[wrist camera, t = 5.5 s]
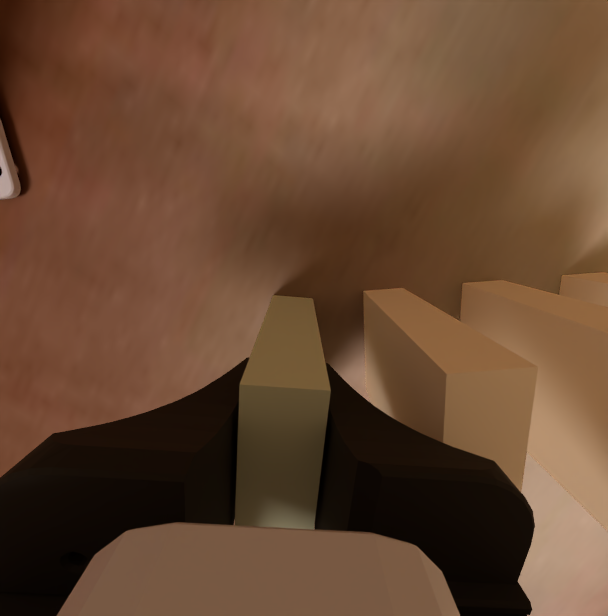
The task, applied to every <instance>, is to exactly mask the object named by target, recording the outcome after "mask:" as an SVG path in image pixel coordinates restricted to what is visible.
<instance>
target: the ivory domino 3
mask: <svg viewBox="0 0 608 616" xmlns="http://www.w3.org/2000/svg"><path fill="white" fill-rule="evenodd" d="M559 295H562V296H566V297H570V298H573V299H577V300H581V301H585V302H589V303H593V304H597V305H600V306H604V307H608V273H605V272H596V273H584V274H571V275H562V278H561V284H560V291H559Z"/></svg>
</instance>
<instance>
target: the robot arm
mask: <svg viewBox="0 0 608 616" xmlns="http://www.w3.org/2000/svg"><path fill="white" fill-rule="evenodd" d="M0 167H1V169H2V174H1V176H0V199H11V198H15V197H17V196H18V195H19V194H20V190H21V187H20V182H19V179H18V175H17V172H16V169H15V165H14V162H13V159H12V155H11V152H10V149H9V145H8V142H7V139H6V135H5V132H4V129H3V125H2V122H1V119H0ZM248 361H249V358H246V359H245V360H244V361H242V362H241V363H240V364H238V365H237V366H236V367H234V368H233V369H231V370H230V371H229V372H227V373H226V374H224V375H223V376H222V377H220V378H218V379H217V380H215V381H214V382H212V383H210V384H209V385H207V386H205V387H204V388H202V389H200V390H198V391H197V392H195V393H193V394H191V395H188V396H186V397H184V398H182V399H180V400H178V401H175V402H173V403H170V404H167V405H165V406H162V407H159V408H157V409H154V410H151V411H149V412H146V413H142V414H139V415H136V416H132V417H129V418H125V419H121V420H118V421H114V422H110V423H105V424H101V425H96V426H91V427H86V428H81V429H76V430H70V431H65V432H59V433H53V434H52V435H51V436H50V437H48V438H47V439H46V440H45V441H44V442H42V443H41V444H40V445H39V446H38V447H36V448H35V449H34V450H33V451H32V452H30V453H29V454H28V455H27V456H26V457H25V458H23V459H22V460H21V461H20V462H19V463H17V464H16V465H15V466H14V467H13V468H11V469H10V470H9V471H8V472H7V473H5V474H4V475H3V476H2V477H1V478H0V616H527V615H530V613H531V611H532V607H531V603H530V601H529V599H528V598H527V596H526V594H525V593H524V591H523V590H522V588H521V586H520V585H519V583H518V578H519V575H520V573H521V570H522V567H523V565H524V562H525V559H526V557H527V554H528V551H529V548H530V546H531V542H532V537H533V532H534V527H535V524H534V517H533V511H532V509H531V507H530V505H529V504H528V502H527V500H526V498H525V497H524V496H523V494H522V493H521V492H520V491H519V490H518V488H517V487H516V486H515V485H514V484H513V482H512V481H511V480H510V479H509V478H508V476H507V475H506V474H505V473H504V472H503V470H502V469H501V468H500V467H499V466H498V465H497V463H496V462H495V461H493V460H490V459H487V458H484V457H481V456H478V455H476V454H473V453H470V452H467V451H464V450H461V449H458V448H455V447H452V446H450V445H447V444H445V443H442V442H440V441H438V440H435V439H433V438H431V437H428V436H426V435H424V434H422V433H420V432H418V431H416V430H414V429H412V428H410V427H408V426H406V425H404V424H402V423H401V422H399V421H397V420H395V419H394V418H392V417H390V416H389V415H387V414H386V413H384V412H383V411H381V410H380V409H378V408H377V407H375V406H374V405H372V404H371V403H370V402H368V401H367V400H366V399H365V398H363V397H362V396H361V395H360V394H359V393H357V392H356V391H355V390H354V389H353V388H352V387H351V386H350V385H349V384H347V383H346V382H345V381H344V380H343V379H342V378H341V377H340V376H339V375H338V373H337V372H336V371H335V370H334V369H333V368H332V367H331V366H330V365H329V364H328V363H325V364H326V369H327V374H328V379H329V384H330V389H331V393H330V401H329V409H328V417H327V426H326V434H325V442H324V450H323V458H322V466H321V475H320V483H319V491H318V499H317V507H316V516H315V529H297V528H278V527H259V526H240V525H234V519H235V502H236V473H237V444H238V415H239V386H240V382H241V379H242V377H243V374H244V371H245V369H246V366H247V363H248Z"/></svg>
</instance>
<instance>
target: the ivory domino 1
mask: <svg viewBox="0 0 608 616" xmlns="http://www.w3.org/2000/svg"><path fill="white" fill-rule="evenodd" d="M363 306H364V344H365V382H366V391H367V394H368V396H369V399H370V401H371V403H372V405H374V406H375V407H377V408H378V409H380V410H381V411H383V412H384V413H386V414H387V415H389V416H390V417H392V418H394V419H395V420H397V421H399V422H401V423H402V424H404V425H406V426H408V427H410V428H412V429H414V430H416V431H418V432H420V433H422V434H424V435H426V436H428V437H431V438H433V439H435V440H438V441H440V442H442V443H445V444H447V445H450V446H452V447H455V448H458V449H461V450H464V451H467V452H470V453H473V454H476V455H478V456H481V457H484V458H487V459H490V460H493V461H495V462H496V463H497V465H498V466H499V467H500V468H501V469H502V470H503V472H504V473H505V474H506V475H507V476H508V478H509V479H510V480H511V481H512V482H513V484H514V485H515V486H516V487H517V488H518V490H519V491H520V492H521V489H522V482H523V475H524V467H525V460H526V453H527V446H528V438H529V431H530V424H531V416H532V409H533V402H534V395H535V387H536V380H537V373H538V367H537V366H536V365H534V364H532V363H531V362H529V361H527V360H526V359H524V358H522V357H520V356H519V355H517V354H515V353H514V352H512V351H510V350H508V349H507V348H505V347H503V346H502V345H500V344H498V343H496V342H495V341H493V340H491V339H490V338H488V337H486V336H484V335H483V334H481V333H479V332H478V331H476V330H474V329H472V328H471V327H469V326H467V325H466V324H464V323H462V322H461V321H459V320H457V319H455V318H454V317H452V316H450V315H449V314H447V313H445V312H443V311H442V310H440V309H438V308H437V307H435V306H433V305H431V304H430V303H428V302H426V301H425V300H423V299H421V298H419V297H418V296H416V295H414V294H413V293H411V292H409V291H408V290H406V289H404V288H393V289H380V290H368V291H363Z"/></svg>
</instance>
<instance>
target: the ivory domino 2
mask: <svg viewBox="0 0 608 616" xmlns="http://www.w3.org/2000/svg"><path fill="white" fill-rule="evenodd" d="M460 321H461V322H462V323H464V324H466V325H467V326H469V327H471V328H472V329H474V330H476V331H478V332H479V333H481V334H483V335H484V336H486V337H488V338H490V339H491V340H493V341H495V342H496V343H498V344H500V345H502V346H503V347H505V348H507V349H508V350H510V351H512V352H514V353H515V354H517V355H519V356H520V357H522V358H524V359H526V360H527V361H529V362H531V363H532V364H534V365H536V366H537V367H538V373H537V380H536V387H535V395H534V402H533V409H532V416H531V424H530V431H529V438H528V446H527V452H528V453H529V454H530V455H531V456H532V457H533V458H534V459H535V460H536V461H537V462H538V463H539V464H540V465H541V466H542V467H543V468H544V469H545V470H546V471H547V472H548V473H549V474H550V475H551V476H552V477H553V478H554V479H555V480H556V481H557V482H558V483H559V484H560V485H561V486H562V487H563V488H564V489H565V490H566V491H567V492H568V493H569V494H570V495H571V496H572V497H573V498H574V499H575V500H576V501H577V502H578V503H579V504H580V505H581V506H582V507H583V508H584V509H585V510H586V511H587V512H588V513H589V514H590V515H591V516H592V517H593V518H594V519H596V520H597V521H598V522H599V523H600V524H601V525H602V526H603V527H604V528H605V529H606V530H607V531H608V307H604V306H600V305H597V304H593V303H589V302H585V301H581V300H577V299H573V298H570V297H566V296H562V295H558V294H554V293H550V292H547V291H543V290H539V289H535V288H531V287H527V286H524V285H520V284H516V283H512V282H508V281H504V280H495V281H482V282H469V283H462V297H461V314H460Z"/></svg>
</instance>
